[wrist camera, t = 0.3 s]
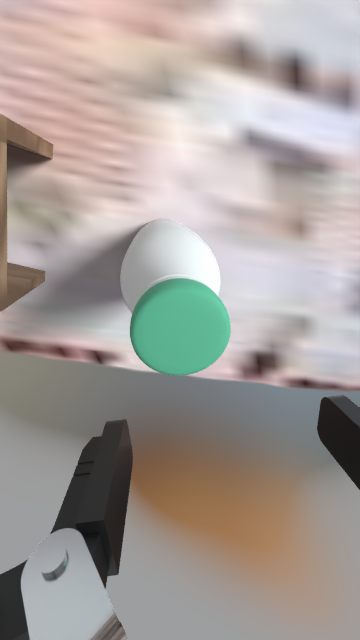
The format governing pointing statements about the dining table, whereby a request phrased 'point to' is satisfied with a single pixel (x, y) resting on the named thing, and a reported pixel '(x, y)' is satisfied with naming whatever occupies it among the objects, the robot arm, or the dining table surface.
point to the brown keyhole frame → (6, 278)
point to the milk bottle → (174, 299)
